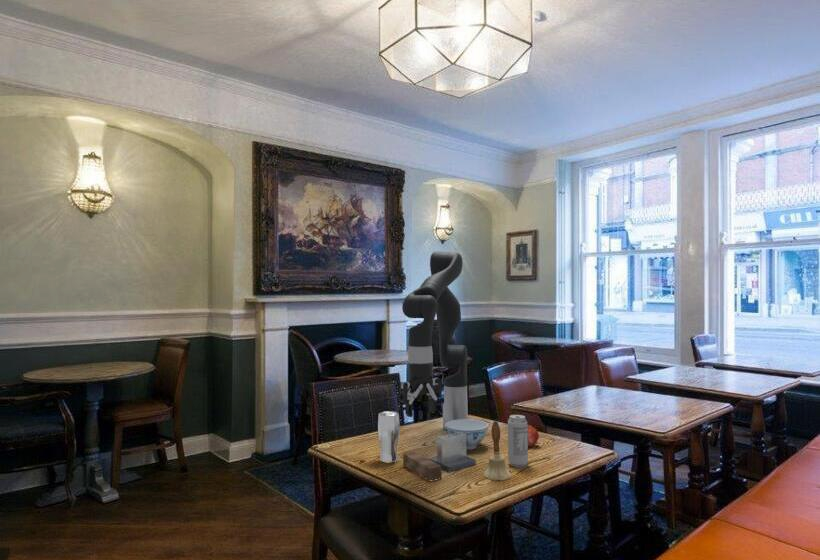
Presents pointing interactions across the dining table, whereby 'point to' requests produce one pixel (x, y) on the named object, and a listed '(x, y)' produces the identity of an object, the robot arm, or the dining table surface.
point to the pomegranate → (532, 435)
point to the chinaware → (468, 430)
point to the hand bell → (496, 459)
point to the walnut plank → (422, 465)
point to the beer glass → (388, 435)
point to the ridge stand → (452, 452)
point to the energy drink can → (517, 441)
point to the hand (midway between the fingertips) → (421, 414)
